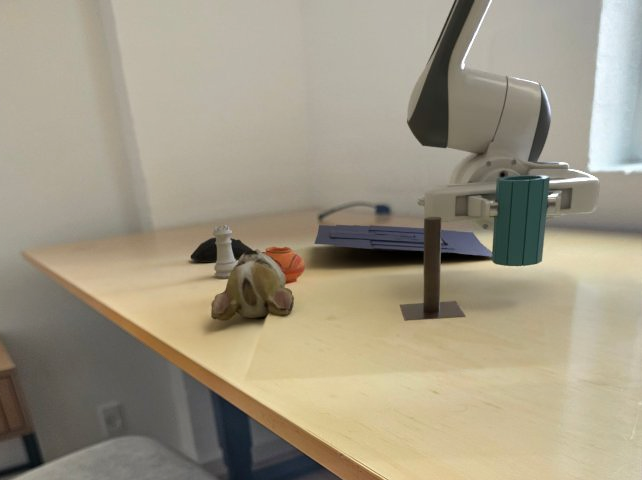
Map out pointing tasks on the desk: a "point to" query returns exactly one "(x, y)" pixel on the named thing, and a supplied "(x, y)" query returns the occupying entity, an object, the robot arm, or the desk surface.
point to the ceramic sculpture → (253, 289)
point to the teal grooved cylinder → (520, 220)
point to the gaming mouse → (209, 250)
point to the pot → (287, 262)
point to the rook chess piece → (223, 252)
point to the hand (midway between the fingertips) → (523, 207)
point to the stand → (431, 280)
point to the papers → (397, 239)
